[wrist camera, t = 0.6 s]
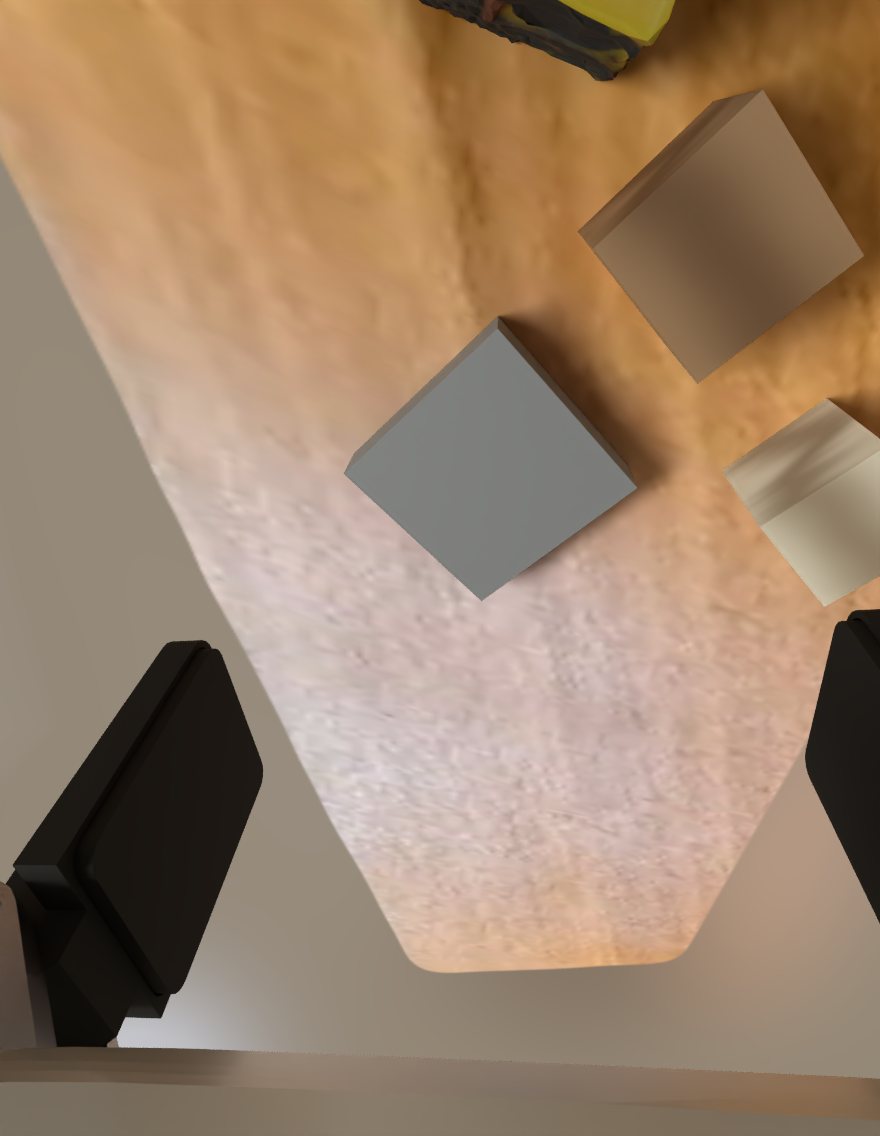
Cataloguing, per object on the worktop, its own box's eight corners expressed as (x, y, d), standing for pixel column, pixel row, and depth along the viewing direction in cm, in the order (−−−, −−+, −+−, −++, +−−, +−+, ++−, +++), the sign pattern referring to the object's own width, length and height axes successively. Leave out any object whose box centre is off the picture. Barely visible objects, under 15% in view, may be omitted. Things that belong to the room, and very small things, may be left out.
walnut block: (712, 101, 26) (762, 89, 21) (799, 236, 28) (864, 255, 23) (577, 231, 28) (593, 248, 23) (665, 345, 31) (697, 383, 26)
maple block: (826, 397, 31) (888, 445, 26) (881, 477, 33) (949, 536, 28) (721, 470, 33) (759, 526, 28) (778, 541, 35) (824, 606, 30)
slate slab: (498, 316, 30) (497, 328, 28) (629, 466, 34) (637, 488, 32) (353, 454, 35) (343, 473, 32) (482, 576, 38) (481, 601, 36)
